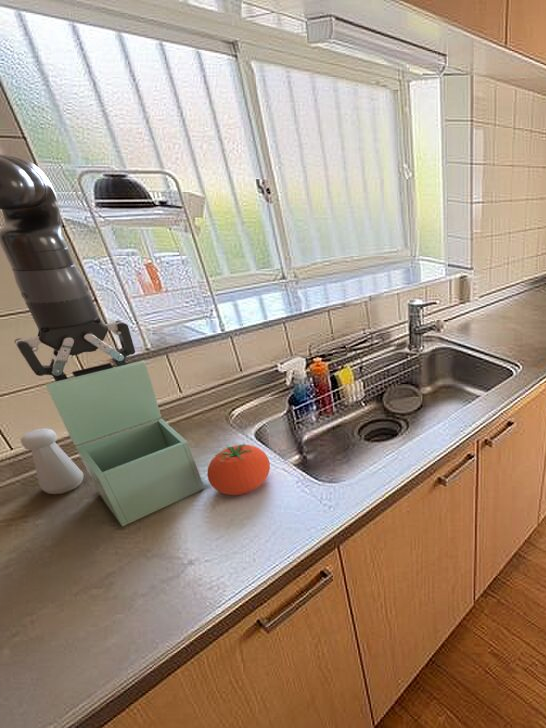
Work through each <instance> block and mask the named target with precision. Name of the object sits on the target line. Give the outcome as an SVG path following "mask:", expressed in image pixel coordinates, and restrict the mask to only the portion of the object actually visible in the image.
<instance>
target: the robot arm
mask: <svg viewBox="0 0 546 728" xmlns="http://www.w3.org/2000/svg"><path fill="white" fill-rule="evenodd" d="M0 210H1V213H2V217H3V220H4V221H3V222H4V223H3V226H2V227H1V228H0V247H1V250H2V252H3V254H4V256H5V259H6V260H7V263H8V265H9V266H10V268H11V272H12V274H13V277H14V281H15V283H16V286H17V288H18V290H19V293H20V295H21V297H22V298H23V301H24V302H25V305H26V307H27V309H28V311H29V313H30V315H31V317H32V319H33V321H34V323H35V325H36V328H37V331H38V333H37V336H33V337H27V338H21V337H20V338H19V337H18V338H16V339H15V340H14V344H15V346H16V347H17V349H18V350H19V352H20V354H21V355H22V357H23V358H24V360H25V361H26V363H27V364H28V366H29V368H30V369H31V370H32V371H33V373H34V374H35V375H36V376H39V377H42V376H52V378H53V379H54V382H57V381H61V380H65V379H69V377H68V376H67V374H66V373H65V372H64V368H65V366H66V364H67V363H68V360H69V357H70V356H72V357H74V356H78V355H81V354H83V353H92V352H97V350H98V349H99V350H101V351H102V352H104V353H105V354H107V355H108V356H110V357H111V361H112V363H113V367H114V368H115V367H119V366H123V365H127V364H128V363H127V362H126V358H127V357H129V356H131V355H132V356H133V355H135V353H136V348H135V345H134V342H133V339H132V335H131V332H130V331H131V330H130V328H129V325H128V324H127V323H126V322H124V321H123V320H119V319H118V320H115V322H110V323H109V322H108V323H104V322H103V321H102V320H101V318H100V315H99V313H98V310H97V308H96V305H95V303H94V301H93V298H92V297H91V293H90V290H89V286H88V285H87V283H86V282H85V279H84V277H83V275H82V274H81V272H80V269H78V266H77V264H76V263H75V261H74V257H73V255H72V253H71V250H70V247H69V246H68V244H67V241H66V239H65V237H64V233H63V224H62V218H61V217H62V216H61V211H60V206H59V201H58V197H57V193H56V191H55V188H54V186H53V184H52V182H51V180H50V179H49V177H48V176H47V174H46V173H45V172H44V171H43V170H42V169H41V168H40V167H39V166H38V165H36V164H34V163H33V162H32V161H30V160H28V159H26V158H23V157H20V156H16V155H14V154H13V155H12V154H0ZM109 331H111V332H112V333H113V334H114V335H116V336H117V337H118V339H119V343H120V347H121V348H120V349H115V348H114V347H112V346H111V345H109V344H108V343H107V342H105V341H104V340H105V338H106V336H107V334H108V332H109ZM40 344H43V345H45V346H47V347H49V348H51V349H52V352H51V357H50V361H49V365H42V363H41V361H40V360H39V358H38V357H37V355H36V352H38V351H39V349H40V348H39V345H40Z"/></svg>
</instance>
